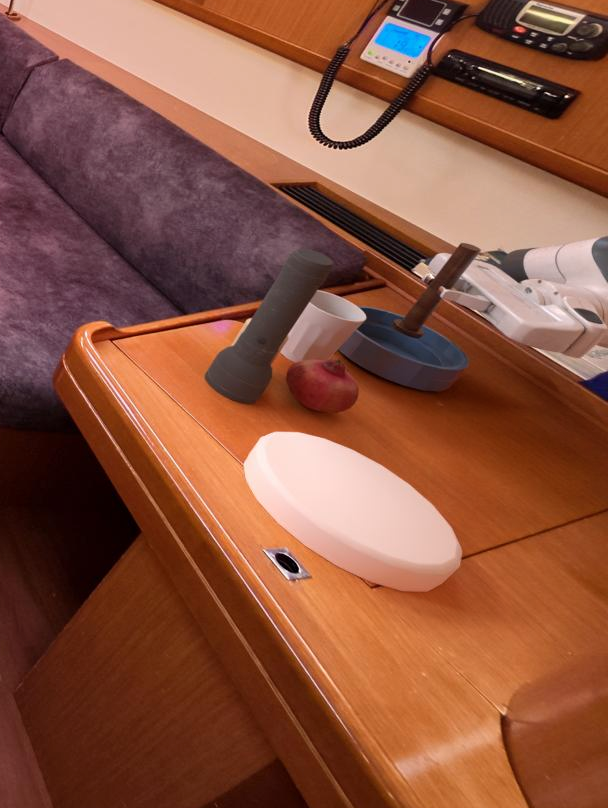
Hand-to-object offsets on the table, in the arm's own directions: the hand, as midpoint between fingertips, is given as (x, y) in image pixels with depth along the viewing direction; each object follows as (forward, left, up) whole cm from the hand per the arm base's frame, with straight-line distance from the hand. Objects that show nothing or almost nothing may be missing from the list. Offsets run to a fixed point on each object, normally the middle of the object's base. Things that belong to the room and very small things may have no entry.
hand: (433, 285), depth 105 cm
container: (+10, +46, -17) cm, 50 cm away
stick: (-1, 0, -10) cm, 10 cm away
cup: (+11, +9, -17) cm, 22 cm away
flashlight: (+21, +27, -17) cm, 38 cm away
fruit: (+11, +23, -17) cm, 31 cm away
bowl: (-1, 0, -17) cm, 17 cm away
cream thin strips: (+19, +19, -17) cm, 32 cm away
